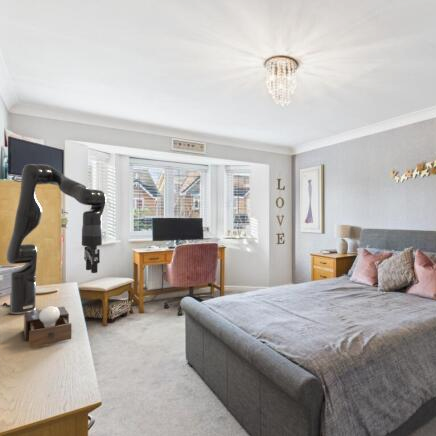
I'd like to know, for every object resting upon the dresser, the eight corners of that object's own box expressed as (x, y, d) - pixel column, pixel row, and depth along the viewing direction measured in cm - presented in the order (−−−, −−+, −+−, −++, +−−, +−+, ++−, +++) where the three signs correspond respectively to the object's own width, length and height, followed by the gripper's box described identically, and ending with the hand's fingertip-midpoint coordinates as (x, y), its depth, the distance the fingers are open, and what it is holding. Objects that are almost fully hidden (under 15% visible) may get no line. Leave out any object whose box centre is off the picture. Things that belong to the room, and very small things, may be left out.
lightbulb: (63, 333, 123) (63, 305, 123) (45, 339, 117) (45, 309, 117) (53, 330, 125) (53, 303, 125) (35, 336, 120) (35, 307, 119)
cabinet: (68, 332, 129) (68, 313, 129) (25, 340, 120) (25, 321, 120) (64, 323, 140) (64, 306, 139) (23, 330, 130) (23, 312, 130)
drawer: (71, 339, 119) (71, 324, 119) (29, 348, 111) (29, 332, 111) (66, 329, 130) (66, 315, 130) (27, 337, 121) (27, 322, 121)
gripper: (78, 233, 141) (77, 270, 141) (86, 236, 131) (85, 274, 131) (97, 233, 146) (96, 268, 147) (106, 235, 136) (106, 272, 137)
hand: (91, 271), depth 139 cm, fingers open, 8 cm apart
